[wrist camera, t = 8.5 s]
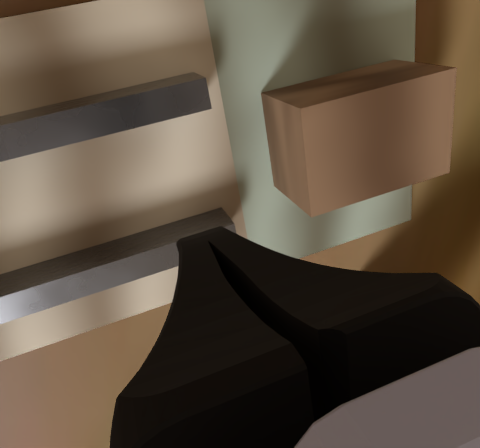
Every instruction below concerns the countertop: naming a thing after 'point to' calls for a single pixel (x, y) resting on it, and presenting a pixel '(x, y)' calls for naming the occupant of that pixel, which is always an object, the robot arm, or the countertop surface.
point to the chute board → (174, 134)
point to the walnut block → (360, 133)
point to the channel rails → (119, 250)
